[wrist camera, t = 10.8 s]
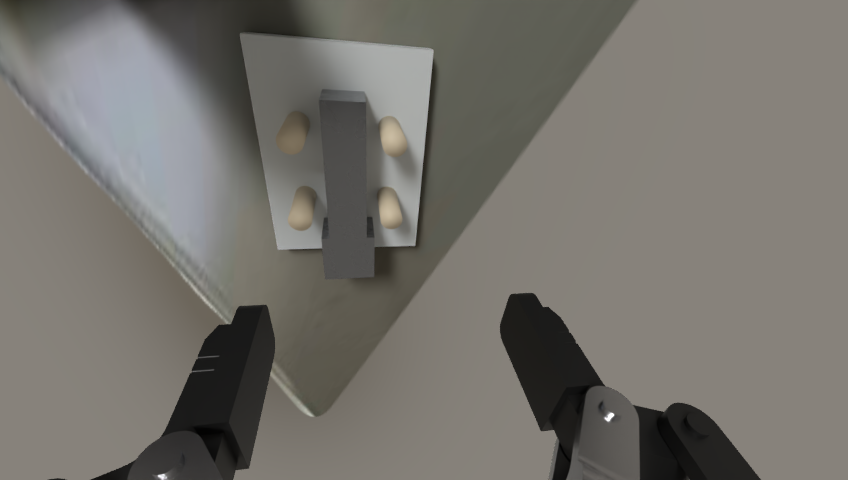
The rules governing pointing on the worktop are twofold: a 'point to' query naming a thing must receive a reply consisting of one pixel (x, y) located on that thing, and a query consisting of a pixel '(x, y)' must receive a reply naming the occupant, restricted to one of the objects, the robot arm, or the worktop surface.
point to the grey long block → (345, 186)
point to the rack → (301, 129)
